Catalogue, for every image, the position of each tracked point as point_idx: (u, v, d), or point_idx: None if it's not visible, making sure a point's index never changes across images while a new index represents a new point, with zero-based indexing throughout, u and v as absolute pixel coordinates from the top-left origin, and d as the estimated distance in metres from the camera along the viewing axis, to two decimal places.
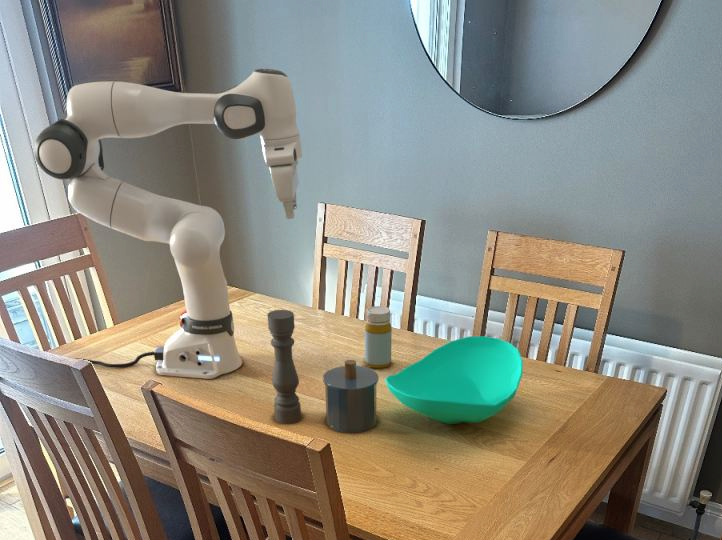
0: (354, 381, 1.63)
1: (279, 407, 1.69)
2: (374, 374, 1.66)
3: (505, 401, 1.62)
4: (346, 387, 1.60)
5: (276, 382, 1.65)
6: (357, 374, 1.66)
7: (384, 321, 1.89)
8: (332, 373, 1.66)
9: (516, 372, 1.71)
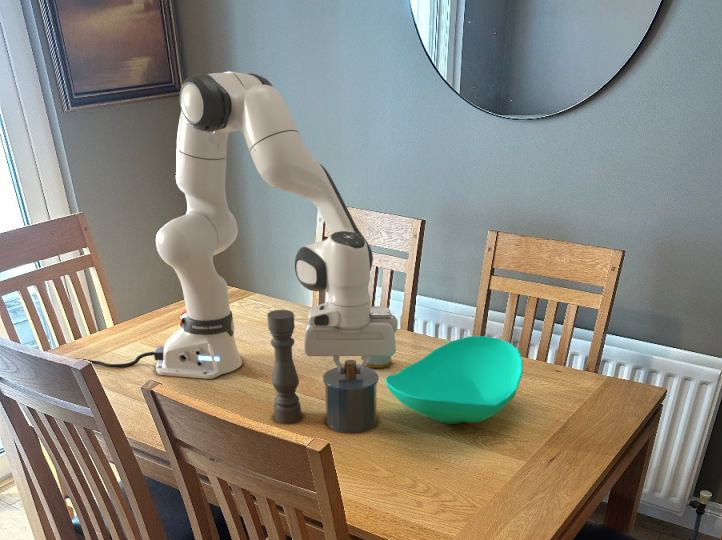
0: (354, 381, 1.63)
1: (279, 407, 1.69)
2: (374, 374, 1.66)
3: (505, 401, 1.62)
4: (346, 387, 1.60)
5: (276, 382, 1.65)
6: (357, 374, 1.66)
7: None
8: (332, 373, 1.66)
9: (516, 372, 1.71)
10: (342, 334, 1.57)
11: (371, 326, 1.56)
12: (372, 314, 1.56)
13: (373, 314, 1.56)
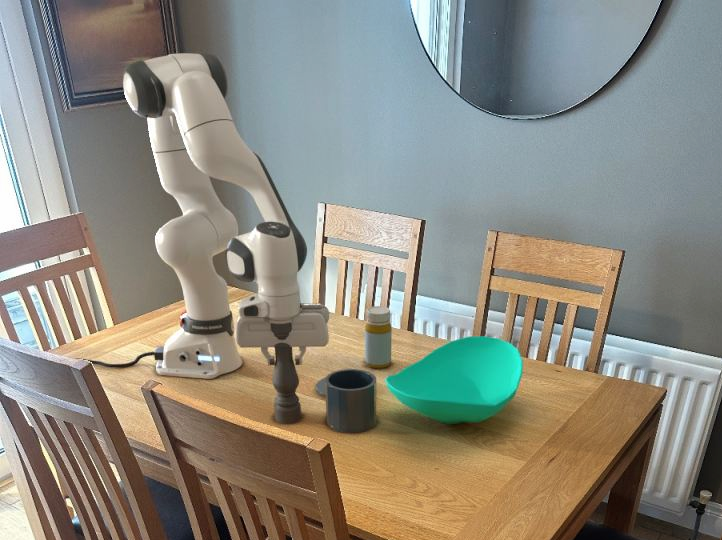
0: None
1: (279, 407, 1.68)
2: None
3: (505, 401, 1.62)
4: None
5: (276, 382, 1.65)
6: None
7: (384, 321, 1.89)
8: (324, 382, 1.86)
9: (516, 372, 1.71)
10: None
11: (302, 316, 1.56)
12: (303, 304, 1.56)
13: (304, 304, 1.57)
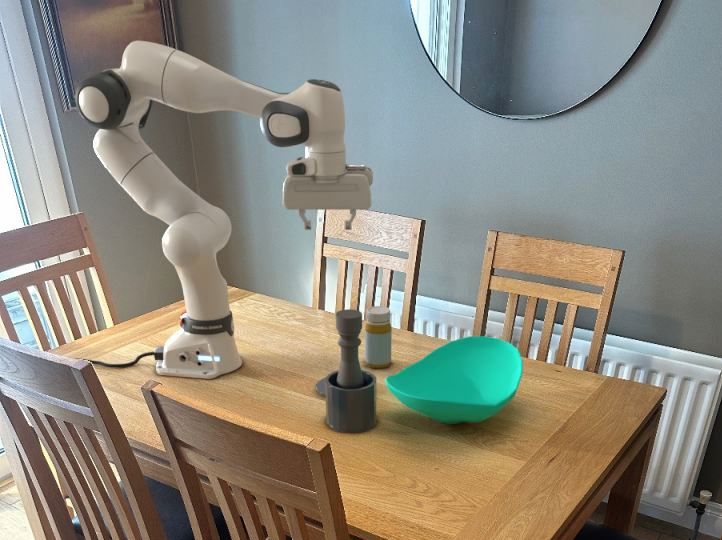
0: None
1: None
2: None
3: (505, 401, 1.62)
4: None
5: (341, 382, 1.63)
6: None
7: (384, 321, 1.89)
8: (324, 382, 1.86)
9: (516, 372, 1.71)
10: (319, 186, 1.64)
11: (347, 177, 1.62)
12: (348, 165, 1.62)
13: (349, 165, 1.63)
